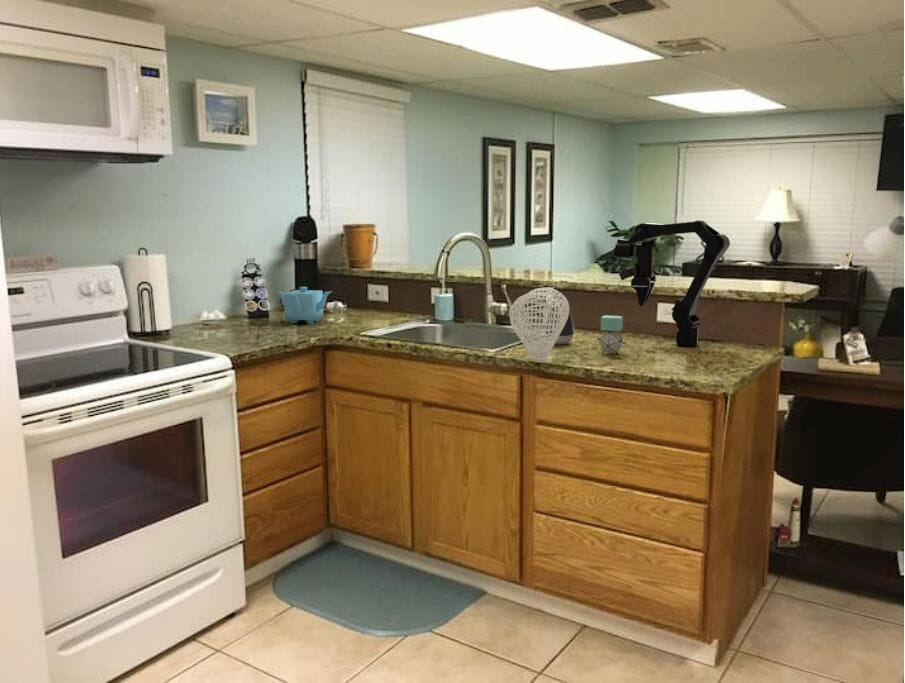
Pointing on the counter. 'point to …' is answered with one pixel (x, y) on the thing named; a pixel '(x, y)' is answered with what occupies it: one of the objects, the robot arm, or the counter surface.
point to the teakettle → (303, 304)
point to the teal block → (611, 323)
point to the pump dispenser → (567, 331)
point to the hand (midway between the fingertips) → (642, 304)
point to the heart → (521, 325)
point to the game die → (611, 341)
